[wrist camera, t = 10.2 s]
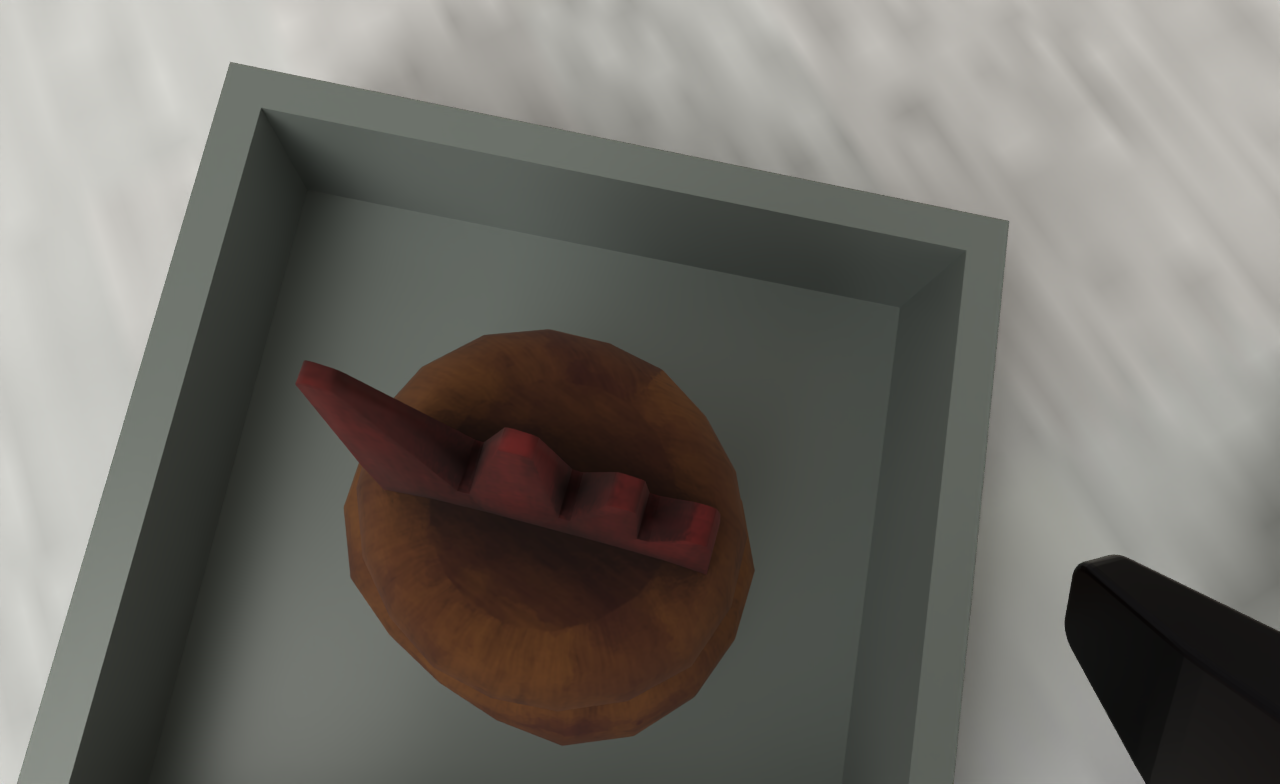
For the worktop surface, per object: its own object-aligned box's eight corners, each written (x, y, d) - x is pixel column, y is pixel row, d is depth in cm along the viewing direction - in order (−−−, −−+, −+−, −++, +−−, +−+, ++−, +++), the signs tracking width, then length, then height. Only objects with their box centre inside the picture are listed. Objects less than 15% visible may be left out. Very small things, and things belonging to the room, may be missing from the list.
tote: (845, 988, 21) (923, 1085, 17) (93, 866, 21) (-28, 934, 16) (927, 290, 25) (1008, 220, 21) (287, 162, 24) (230, 61, 20)
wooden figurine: (338, 568, 22) (-86, 474, 7) (509, 361, 23) (450, -79, 8) (590, 768, 21) (693, 1107, 7) (751, 547, 23) (1130, 424, 8)
